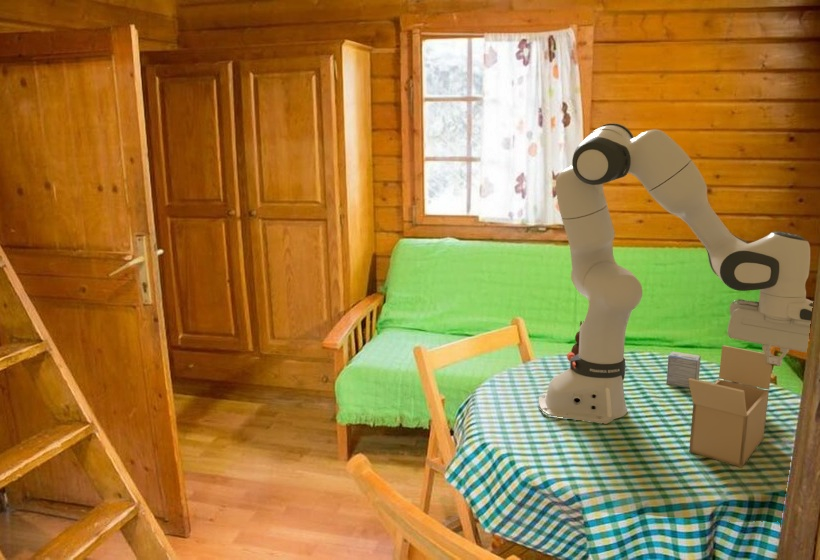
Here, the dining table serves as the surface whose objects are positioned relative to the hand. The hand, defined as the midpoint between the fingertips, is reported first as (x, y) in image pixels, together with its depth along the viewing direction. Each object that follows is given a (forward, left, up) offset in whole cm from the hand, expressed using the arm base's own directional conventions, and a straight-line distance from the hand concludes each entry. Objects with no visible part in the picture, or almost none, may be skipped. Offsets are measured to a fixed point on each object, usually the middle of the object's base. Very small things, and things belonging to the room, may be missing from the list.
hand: (773, 364), depth 146 cm
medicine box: (-9, +33, -19) cm, 39 cm away
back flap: (-5, +4, -2) cm, 6 cm away
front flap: (-16, -12, -3) cm, 20 cm away
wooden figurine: (-35, +45, -19) cm, 60 cm away
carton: (-9, -3, -19) cm, 21 cm away
